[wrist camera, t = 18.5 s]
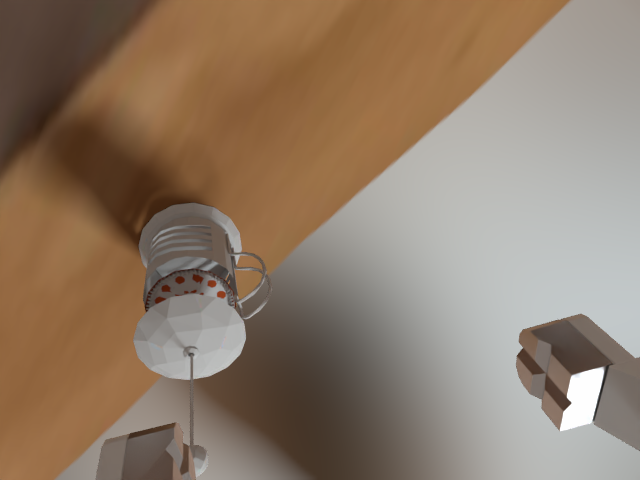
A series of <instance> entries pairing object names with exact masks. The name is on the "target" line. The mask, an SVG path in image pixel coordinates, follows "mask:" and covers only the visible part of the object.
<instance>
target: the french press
mask: <svg viewBox="0 0 640 480" xmlns="http://www.w3.org/2000/svg"><path fill="white" fill-rule="evenodd" d="M139 250H140V254H141V258H142V262H143V264H144V266H145V267H146V268H147V271H146V278H145V285H144V295H143V301H144V304H145V310H146V314H145V315H144V316H143V317H142V318H141V320H140V321H139V322H138V324H137V328H136V332H135V336H134V340H133V341H134V345H135V348H136V352H137V355H138V358H139V359H140V360H141V361H142V362H143V363H144V364H145V365H146V366H147V367H148V368H149V369H150V370H152V371H154V372H157V373H159V374H161V375H163V376H166V377H168V378H177V379H186V380H190V446H189V448H190V450H191V453H192V457H193V461H194V466H195V474H196V476H199V475H200V474H201V473H202V472H203V471H204V470H205V469H206V468H207V465H208V454H207V451H206V450H205V449H204V448H203V447H201V446H199V445H193V379H196V378H202V377H207V376H211V375H213V374H215V373H217V372H219V371H221V370H223V369H225V368H227V367H228V366H229V365H230V364H231V363H232V362H233V361H234V360H235V359H236V358H237V357H238V356H239V355H240V353H241V350H242V348H243V345H244V342H245V340H246V334H245V327H244V322H243V320H242V319H241V318H244V319H248V318H250V317H251V316H253V315H254V314H256V313H257V312H258V311H260V310H261V309H262V308H263V306H264V305H265V304H266V303H267V301H268V299H269V297H270V295H271V291H272V284H271V280H270V277H269V276H268V275H267V274H266V271H267V270H266V267H265V264H264V262H263V260H262V259H261V258H260V257H258V256H257V255H255V254H252V253H247V252H241V250H242V248H241V240H240V233H239V231H238V230H237V228H236V227H235V225H234V224H233V222H232V220H231V219H230V218H229V217H228V216H226V215H225V214H223V213H222V212H220V211H219V210H217V209H216V208H214V207H210V206H206V205H202V204H197V203H186V204H178V205H172V206H170V207H168V208H166V209H164V210H162V211H161V212H159V213H157V214H155V215H154V216H153V217H152V218H151V220H150V221H149V222H148V223H147V225H146V226H145V227H144V228H143V230H142V234H141V238H140V243H139ZM240 255H247V256H253V257H255V258H257V259H258V260H259V261H260V263H261V264H262V267H263V271H262V270H261V269H258V268H253V267H237V266H236V265H237V262H238V259H239V256H240ZM234 268H235V269H236V270H253V271H259V272H260V273H262V274H263V275H262V279H261V282H260V283H259V284H258V286H257V287H256V288H255V289H254V291H253V292H252V293H250V294H249V295H247V296H245V297H244V298H242V299H240V300H239V298H238V292H237V285H236V278H235V271H234ZM228 274H229V276H228V278H227V280H225V279H226V277H227V275H228ZM265 277H266V279H267V282H268V285H269V290H268V294H267V296H266V298H265V300H264V302H263V303H262V304H261V305H260V307H259V308H258V309H257V310H255V311H254V312H252V313H250V314H249V315H247V316H244V314H243V309H242V306H241V303H242V302H244V301H245V300H246V299H248V298H250V297H251V296H252V295H254V294H255V293H256V291H257V290H258V289H259V288H260V286H261V285H262V284H263V282H264V279H265ZM229 280H230V283H229V285H228V282H229ZM236 302H237V305H238V307H239V310H240V316H241V317H240V316H239V315H238V314H237V312H236V310H235V307H236Z"/></svg>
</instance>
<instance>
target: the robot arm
mask: <svg viewBox="0 0 640 480" xmlns="http://www.w3.org/2000/svg"><path fill="white" fill-rule="evenodd" d="M519 343H520V344H521V345H522V347H523V349H522V350H521V351H520V353H519V354H518V355H517V360H516V368H517V372H518V375H519V378H520V380H521V382H522V384H523V385H524V387H525V388H526V389H527V391H528V392H529V393H530V394H531V395H533V396H535V397H537V398H539V399H542V410H543V411H544V412H545V414H546V415H547V416H548V417H549V418H550V420H551V421H552V422H553V423H554V425H555V426H556V427H557V428H558V430H559V431H563V430H567V429H570V428H574V427H578V426H582V425H585V424H589V423H593V422H594V425H596V426H598V427H599V428H601V429H603V430H605V431H606V432H608V433H610V434H611V435H613V436H615V437H616V438H618V439H620V440H622V441H624V442H625V443H627V444H629V445H630V446H632V447H634V448H635V449H637V450H639V451H640V357H639V358H634V357H633V356H632V355H631V354H630V353H629V352H627V351H626V350H625V349H624V348H623V347H622V346H620V345H619V344H618V343H617V342H616V341H615V340H614V339H612V338H611V337H610V336H609V335H608V334H607V333H605V332H604V331H603V330H602V329H601V328H600V327H598V326H597V325H596V324H595V323H594V322H593V321H592V320H590V319H589V318H588V317H587V316H585V315H582V314H578V315H575V316H571V317H567V318H563V319H561V320H555V321H552V322H549V323H545V324H541V325H537V326H534V327H530V328H527V329H523V330H522V332H521V333H520V336H519ZM96 480H196V474H195V466H194V461H193V457H192V453H191V450H190V448H189V446H188V445H186V444H184V443H183V431H182V429H181V426H180V424H179V423H177V422H176V423H172V424H167V425H163V426H159V427H155V428H151V429H147V430H143V431H138V432H134V433H130V434H127V435H123V436H119V437H115V438H111V439H107V440H105V442H104V444H103V446H102V449H101V453H100V459H99V464H98V469H97V475H96Z"/></svg>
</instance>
